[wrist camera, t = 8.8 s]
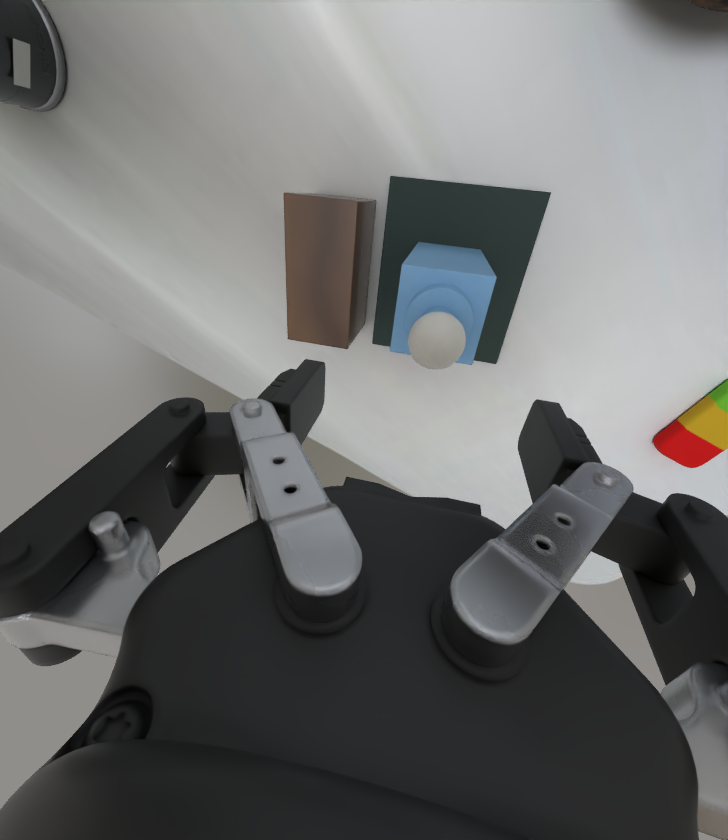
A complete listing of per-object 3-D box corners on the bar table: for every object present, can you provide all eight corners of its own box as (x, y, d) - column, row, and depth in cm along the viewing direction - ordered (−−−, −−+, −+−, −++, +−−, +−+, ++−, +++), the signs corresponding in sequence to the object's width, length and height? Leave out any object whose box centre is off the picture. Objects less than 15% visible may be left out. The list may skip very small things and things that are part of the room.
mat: (372, 342, 41) (372, 343, 41) (391, 176, 32) (390, 175, 32) (495, 363, 39) (496, 363, 39) (550, 192, 31) (551, 192, 30)
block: (314, 316, 41) (287, 339, 34) (315, 193, 34) (283, 192, 28) (364, 324, 40) (347, 349, 33) (376, 200, 34) (357, 200, 27)
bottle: (464, 244, 36) (638, 296, 21) (450, 304, 39) (593, 386, 24) (334, 236, 32) (435, 293, 17) (331, 304, 35) (413, 403, 20)
